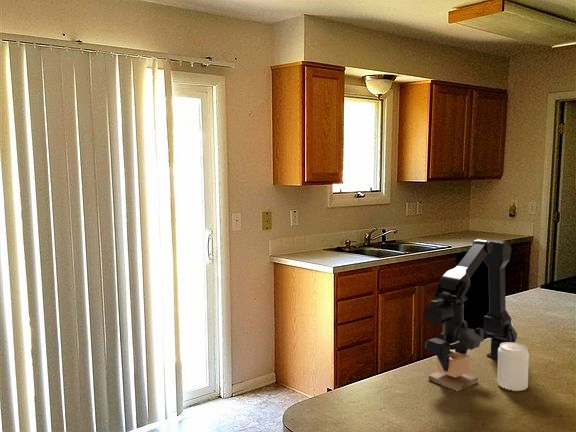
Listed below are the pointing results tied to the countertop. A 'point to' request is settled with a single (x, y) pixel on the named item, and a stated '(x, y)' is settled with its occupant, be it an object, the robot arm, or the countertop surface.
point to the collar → (455, 364)
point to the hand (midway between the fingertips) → (453, 368)
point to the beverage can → (513, 366)
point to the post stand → (453, 380)
